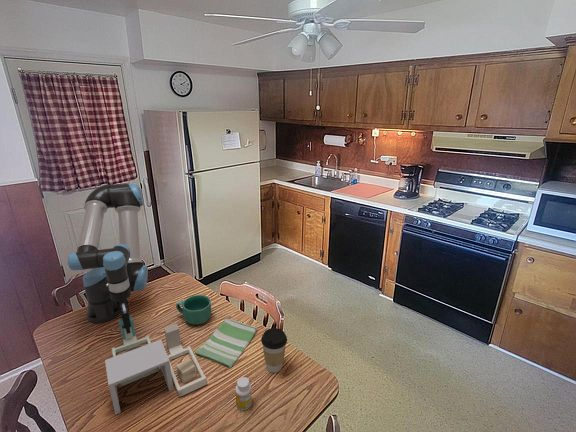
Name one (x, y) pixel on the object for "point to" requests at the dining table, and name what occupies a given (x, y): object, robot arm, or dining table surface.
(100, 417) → the dining table surface
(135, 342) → the frame
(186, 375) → the birch block
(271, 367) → the coffee cup
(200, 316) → the mug
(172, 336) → the open frame with post
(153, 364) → the shelf
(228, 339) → the dish towel
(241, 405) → the supplement bottle
